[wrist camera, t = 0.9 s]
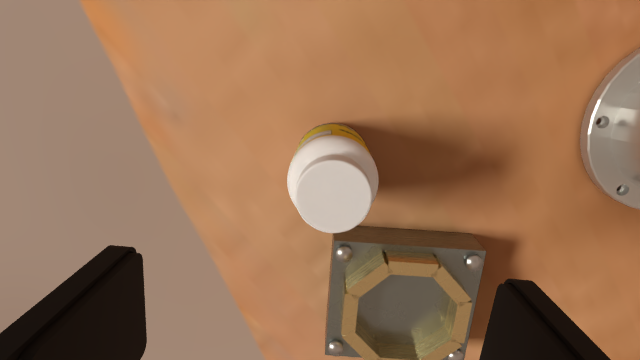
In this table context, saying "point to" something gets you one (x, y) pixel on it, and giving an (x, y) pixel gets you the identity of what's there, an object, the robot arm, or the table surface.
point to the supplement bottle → (332, 178)
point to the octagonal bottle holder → (402, 293)
